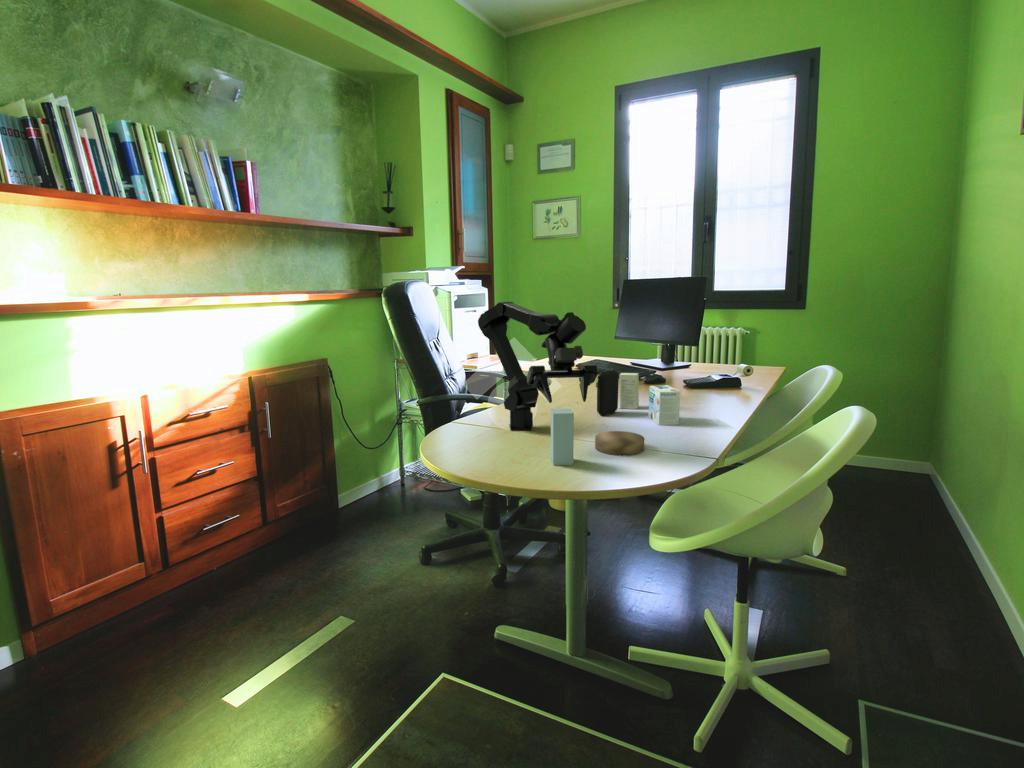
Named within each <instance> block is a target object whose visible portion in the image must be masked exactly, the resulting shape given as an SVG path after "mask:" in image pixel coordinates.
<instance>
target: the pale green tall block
mask: <svg viewBox="0 0 1024 768" xmlns="http://www.w3.org/2000/svg"><path fill="white" fill-rule="evenodd" d="M574 421H575V415H574V411H573V410H572V408H550V461H551V464H552V466H568V465H569V466H570V465H571V466H573V465H574V447H575V446H574V445H575V444H574V443H575V441H574V440H575V439H574V432H575V429H574V427H575V426H574V425H575V423H574Z"/></svg>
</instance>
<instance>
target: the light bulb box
mask: <svg viewBox="0 0 1024 768" xmlns="http://www.w3.org/2000/svg"><path fill="white" fill-rule="evenodd" d="M648 391H649V393H648V394H649V395H648V397H649V398H648V418H649V419H650V420H651V421H652V422H654V423H655V424H656V425H657V426H679V424H680V407H681V390H679V389H677V388H675V387H673V386H671V385H669V384H665V385H664V384H662V385H649V390H648Z"/></svg>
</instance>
